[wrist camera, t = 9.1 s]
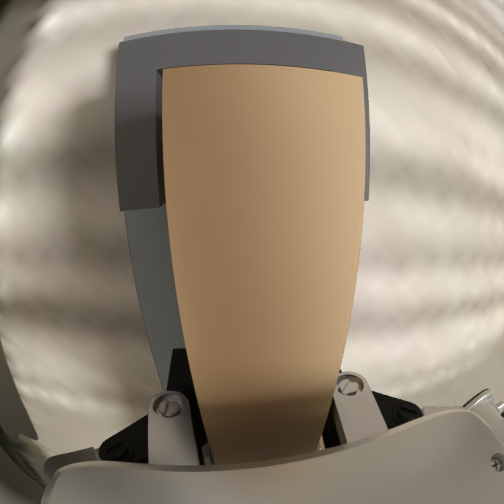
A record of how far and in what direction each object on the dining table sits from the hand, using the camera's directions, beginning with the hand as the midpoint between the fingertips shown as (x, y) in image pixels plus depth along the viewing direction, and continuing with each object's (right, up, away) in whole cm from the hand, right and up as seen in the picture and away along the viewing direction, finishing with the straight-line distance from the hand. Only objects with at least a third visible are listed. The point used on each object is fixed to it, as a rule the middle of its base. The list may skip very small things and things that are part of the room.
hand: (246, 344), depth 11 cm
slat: (0, 0, +1) cm, 1 cm away
